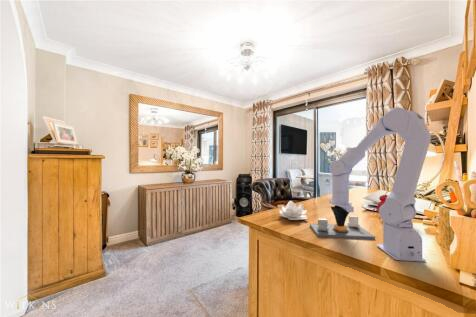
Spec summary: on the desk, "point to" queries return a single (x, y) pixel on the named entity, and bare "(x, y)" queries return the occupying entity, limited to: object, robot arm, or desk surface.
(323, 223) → the grey slider knob
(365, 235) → the panel
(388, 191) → the alarm clock
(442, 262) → the desk surface
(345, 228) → the push button
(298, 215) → the lotus flower
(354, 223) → the toggle lever
